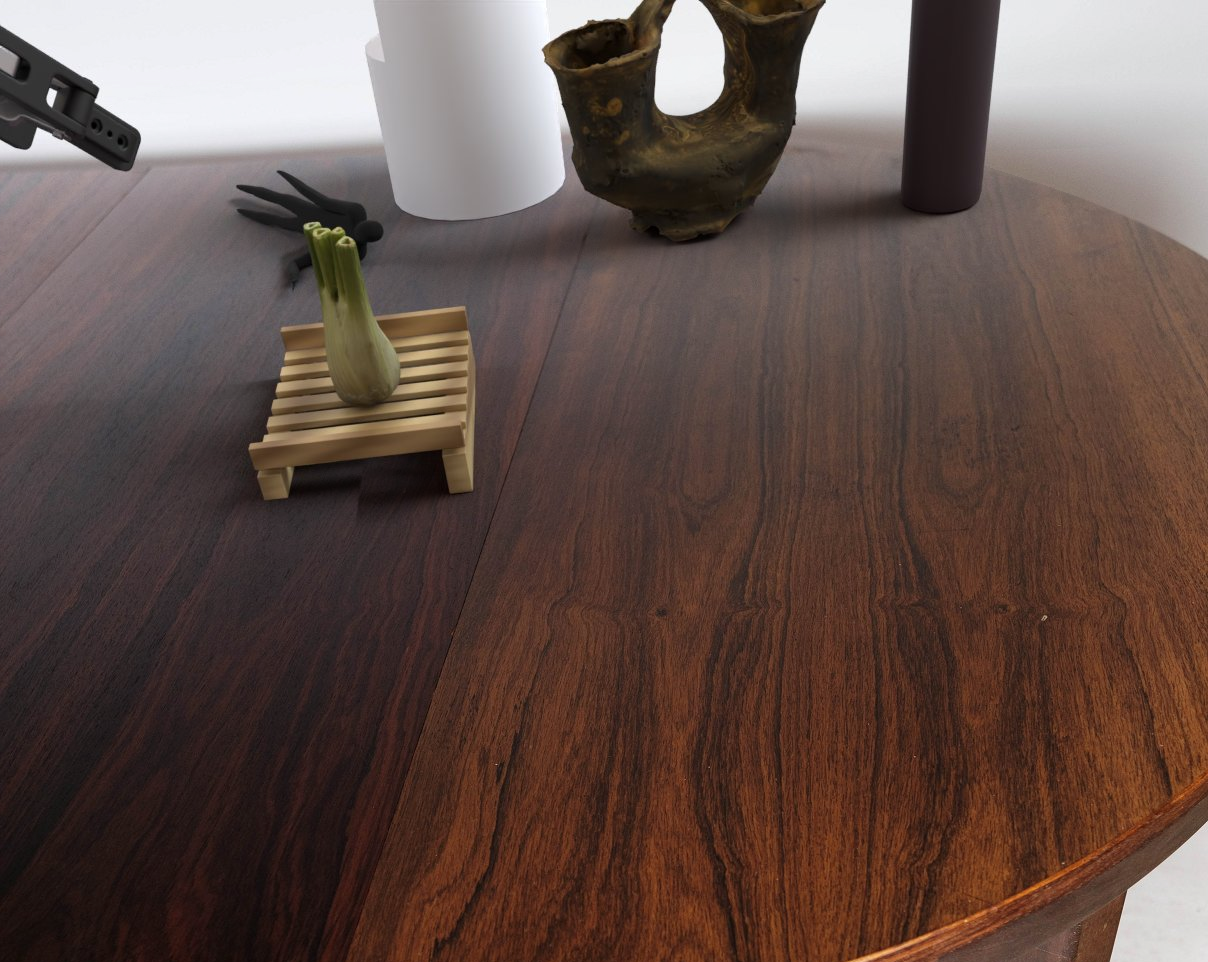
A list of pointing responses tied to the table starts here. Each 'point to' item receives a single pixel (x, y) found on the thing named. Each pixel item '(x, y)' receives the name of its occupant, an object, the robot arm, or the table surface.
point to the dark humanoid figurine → (314, 217)
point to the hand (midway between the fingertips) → (80, 142)
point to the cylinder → (466, 105)
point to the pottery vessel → (690, 142)
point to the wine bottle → (948, 102)
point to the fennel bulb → (350, 321)
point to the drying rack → (376, 438)
